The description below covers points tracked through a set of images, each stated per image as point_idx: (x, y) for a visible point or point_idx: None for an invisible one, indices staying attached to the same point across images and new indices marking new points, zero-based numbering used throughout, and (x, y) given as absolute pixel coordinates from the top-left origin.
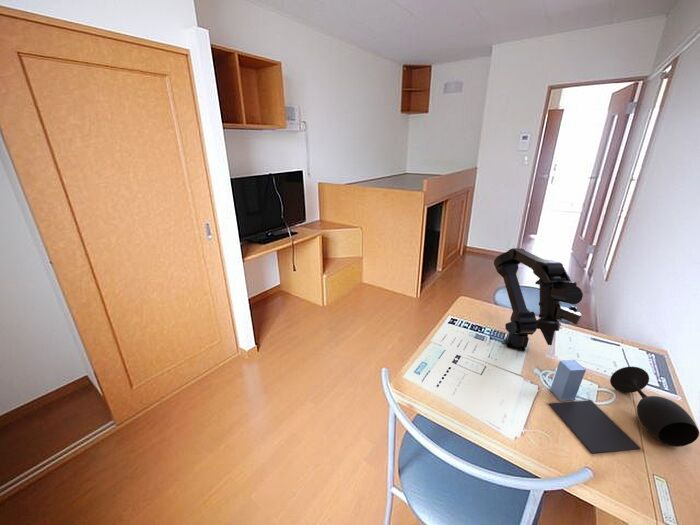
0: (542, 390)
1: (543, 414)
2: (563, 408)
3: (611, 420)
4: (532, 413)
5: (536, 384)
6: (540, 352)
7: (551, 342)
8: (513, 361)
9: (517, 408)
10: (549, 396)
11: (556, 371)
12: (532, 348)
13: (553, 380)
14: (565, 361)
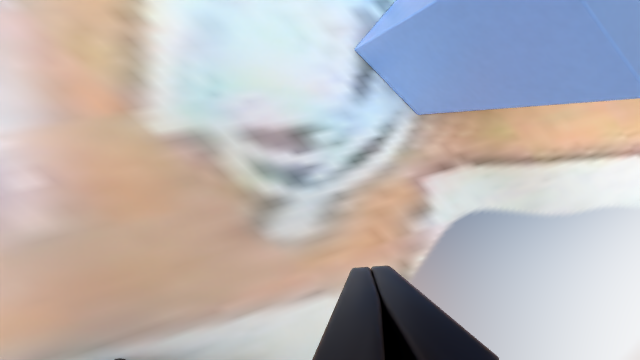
0: (447, 146)
1: (596, 102)
2: None
3: None
4: (616, 142)
5: (421, 184)
6: (26, 273)
7: (414, 292)
8: (303, 355)
9: (623, 200)
10: None
11: (526, 105)
12: (19, 335)
13: (463, 110)
14: (636, 39)
